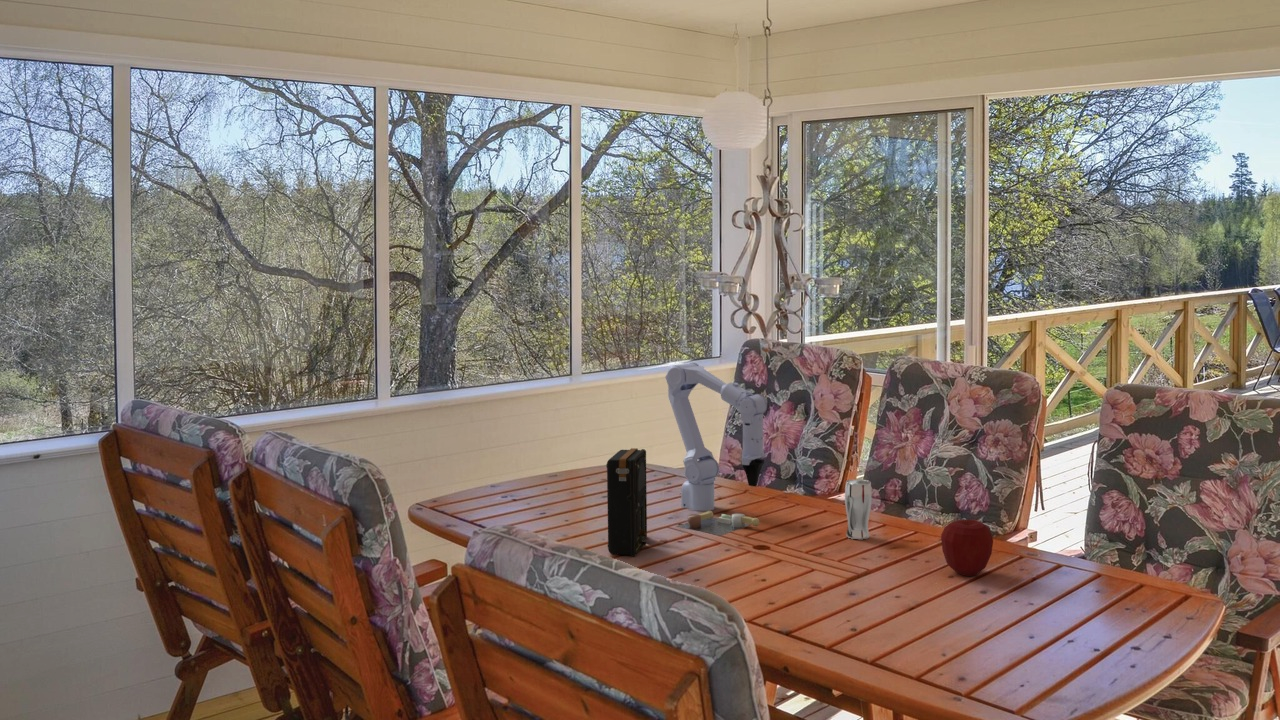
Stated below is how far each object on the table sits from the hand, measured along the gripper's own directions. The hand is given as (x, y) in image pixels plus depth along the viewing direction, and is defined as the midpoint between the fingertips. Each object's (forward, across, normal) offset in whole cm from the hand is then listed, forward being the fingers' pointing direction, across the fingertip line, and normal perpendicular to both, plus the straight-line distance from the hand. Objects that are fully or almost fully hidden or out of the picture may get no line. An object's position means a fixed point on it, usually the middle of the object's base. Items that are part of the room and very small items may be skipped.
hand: (752, 485), depth 289 cm
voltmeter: (+11, -37, +22) cm, 44 cm away
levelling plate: (+10, -12, +7) cm, 18 cm away
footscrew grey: (+9, -11, -1) cm, 14 cm away
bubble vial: (+9, -8, +5) cm, 13 cm away
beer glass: (+11, -5, -31) cm, 33 cm away
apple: (+11, -27, -61) cm, 67 cm away
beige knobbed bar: (+9, -13, +11) cm, 19 cm away
